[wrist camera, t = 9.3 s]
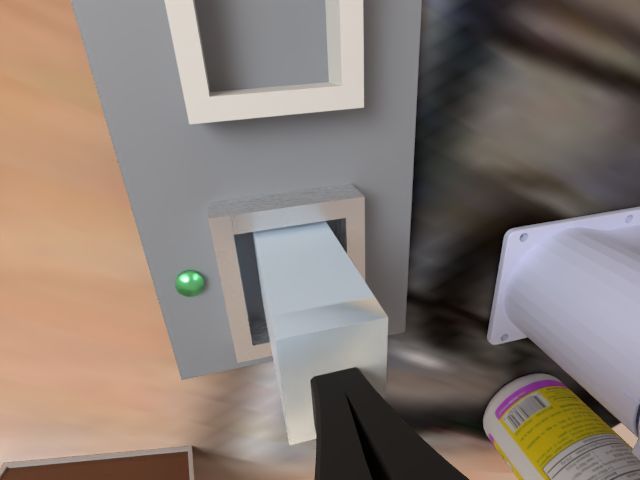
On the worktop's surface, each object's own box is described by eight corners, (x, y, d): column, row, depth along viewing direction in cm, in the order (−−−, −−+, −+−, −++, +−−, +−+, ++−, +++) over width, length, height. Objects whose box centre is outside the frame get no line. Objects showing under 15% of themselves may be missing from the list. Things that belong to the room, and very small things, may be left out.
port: (350, 183, 17) (364, 196, 16) (353, 313, 20) (365, 336, 19) (156, 209, 16) (150, 226, 14) (192, 346, 19) (190, 372, 17)
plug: (318, 210, 17) (387, 317, 10) (322, 285, 19) (384, 421, 12) (250, 219, 17) (276, 339, 10) (261, 296, 19) (289, 445, 12)
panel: (417, -174, 13) (431, -190, 12) (397, 321, 23) (405, 332, 22) (24, -191, 11) (8, -213, 10) (183, 366, 20) (181, 380, 20)
